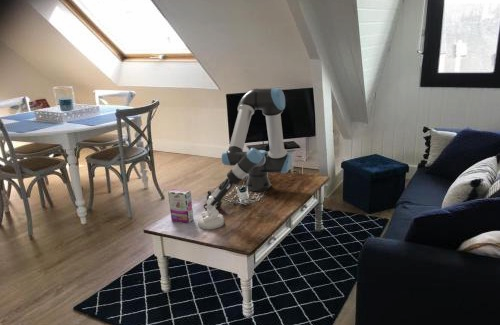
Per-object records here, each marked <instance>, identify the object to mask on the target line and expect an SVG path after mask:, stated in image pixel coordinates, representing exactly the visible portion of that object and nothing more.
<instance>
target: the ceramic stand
mask: <svg viewBox="0 0 500 325" xmlns="http://www.w3.org/2000/svg"><path fill="white" fill-rule="evenodd" d="M204 218H205V217H203V216H202V214H201V215H200V216H199V217H198V219H197V227H198V228H200V229H202V230H215V229H218V228H221V227H223V226H224V224H225V220H224V215H223V214H222V213H219V215H218V217H217V218H216V219H213V220H211V221H208V222H204V221H203V219H204Z"/></svg>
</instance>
